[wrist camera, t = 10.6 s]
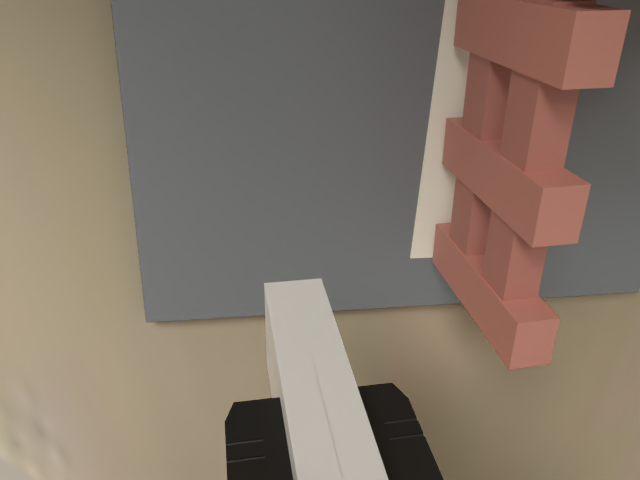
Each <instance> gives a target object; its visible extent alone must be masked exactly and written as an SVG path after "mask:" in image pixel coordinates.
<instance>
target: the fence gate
mask: <svg viewBox="0 0 640 480" xmlns="http://www.w3.org/2000/svg"><path fill="white" fill-rule="evenodd" d="M630 13H631V10H629V9H623V8H616V7H610V6H603V5H597V1H595V0H458V4H457V14H456V25H455V35H454V46H456V47H458V48H461V49H463V50H466V51H468V52H470V55H469V64H468V73H467V82H466V91H465V100H464V109H463V117H455V118H446V127H445V137H444V148H443V158H442V164H443V165H444V166H445V167H446V168H447V169H448V170H449V171H450V172H451V173H453V174H454V175H455V176H456V181H455V190H454V199H453V208H452V217H451V223H439V224H436V230H435V240H434V250H433V260H432V262H433V264H434V265H435V266H436V268H437V269H438V271H439V272H440V273H441V275H442V276H443V278H444V279H445V280H446V282H447V283H448V285H449V286H450V287H451V289H452V290H453V292H454V293H455V294H456V296H457V297H458V299H459V300H460V301H461V303H462V304H463V306H464V307H465V308H466V310H467V311H468V313H469V314H470V316H471V317H472V318H473V320H474V321H475V323H476V324H477V325H478V327H479V328H480V330H481V331H482V332H483V334H484V335H485V337H486V338H487V339H488V341H489V342H490V344H491V345H492V346H493V348H494V349H495V351H496V352H497V353H498V355H499V356H500V358H501V359H502V360H503V362H504V363H505V365H506V366H507V368H508V369H509V370H511V369H518V368H526V367H534V366H541V365H549V364H550V361H551V357H552V353H553V348H554V344H555V340H556V335H557V331H558V327H559V322H560V317H559V316H558V315H557V314H556V313H555V312H554V311H553V310H552V309H551V308H550V307H549V306H548V305H547V304H546V303H545V301H544V300H543V299H542V298H541V297H540V296H539V295H538V292H539V287H540V282H541V277H542V272H543V267H544V263H545V258H546V253H547V248H548V246H555V245H565V244H575V243H578V239H579V235H580V231H581V226H582V222H583V218H584V213H585V209H586V205H587V200H588V196H589V192H590V187H591V184H590V183H588V182H586V181H585V180H583V179H582V178H580V177H578V176H577V175H575V174H574V173H572V172H570V171H569V170H567V169H566V168H564V164H565V159H566V154H567V149H568V144H569V139H570V134H571V129H572V124H573V119H574V115H575V110H576V105H577V100H578V95H579V90H580V89H591V88H611V87H614V83H615V78H616V74H617V70H618V65H619V61H620V57H621V52H622V48H623V44H624V39H625V35H626V30H627V26H628V22H629V17H630Z"/></svg>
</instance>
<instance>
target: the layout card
mask: <svg viewBox="0 0 640 480" xmlns="http://www.w3.org/2000/svg"><path fill="white" fill-rule="evenodd" d="M595 1H597V5H603V6H610V7H616V8H623V9H629V10H631V13H630V17H629V22H628V26H627V30H626V35H625V39H624V44H623V48H622V52H621V57H620V61H619V65H618V70H617V74H616V78H615V83H614V87H611V88H591V89H580V90H579V95H578V100H577V105H576V110H575V115H574V119H573V124H572V129H571V134H570V139H569V144H568V149H567V154H566V159H565V164H564V168H566V169H567V170H569V171H570V172H572V173H574V174H575V175H577V176H578V177H580V178H582V179H583V180H585V181H586V182H588V183H590V184H591V187H590V192H589V196H588V200H587V205H586V209H585V213H584V218H583V222H582V226H581V231H580V235H579V239H578V243H575V244H565V245H555V246H548V248H547V253H546V258H545V263H544V267H543V272H542V277H541V282H540V287H539V292H538V295H539V296H540V297H541V298H553V297H569V296H586V295H602V294H618V293H635V292H638V291H639V289H640V0H595ZM457 4H458V0H111V9H112V18H113V27H114V36H115V45H116V54H117V63H118V72H119V81H120V90H121V99H122V108H123V117H124V126H125V135H126V144H127V153H128V163H129V172H130V181H131V190H132V199H133V208H134V217H135V226H136V235H137V244H138V253H139V262H140V271H141V280H142V289H143V298H144V307H145V316H146V322H162V321H178V320H194V319H211V318H227V317H243V316H260V315H265V294H264V283H271V282H283V281H295V280H307V279H319V278H321V279H322V282H323V285H324V288H325V291H326V294H327V297H328V300H329V303H330V306H331V309H332V311H341V310H357V309H374V308H390V307H406V306H423V305H439V304H455V303H461V301H460V300H459V299H458V297H457V296H456V294H455V293H454V292H453V290H452V289H451V287H450V286H449V285H448V283H447V282H446V280H445V279H444V278H443V276H442V275H441V273H440V272H439V271H438V269H437V268H436V266H435V265H434V264H433V262H432V260H433V250H434V240H435V230H436V224H439V223H451V217H452V208H453V199H454V190H455V181H456V176H455V175H454V174H453V173H451V172H450V171H449V170H448V169H447V168H446V167H445V166H444V165H443V164H442V158H443V148H444V137H445V127H446V118H455V117H463V109H464V100H465V91H466V82H467V73H468V64H469V55H470V52H468V51H466V50H463V49H461V48H458V47H456V46H454V35H455V25H456V14H457Z"/></svg>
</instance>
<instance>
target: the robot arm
mask: <svg viewBox="0 0 640 480" xmlns="http://www.w3.org/2000/svg"><path fill="white" fill-rule="evenodd" d="M264 294H265V322H266V351H267V368H268V375H269V382H270V389H271V396H272V398H268V399H260V400H251V401H242V402H234V403H233V405H232V408H231V410H230V412H229V414H228V416H227V418H226V420H225V436H226V459H227V480H443V478H442V475H441V473H440V471H439V468H438V466H437V464H436V461H435V459H434V457H433V455H432V452H431V450H430V448H429V445H428V443H427V441H426V438H425V437H424V436H423V431H422V429H421V427H420V424H419V422H418V421H417V419H416V415H415V413H414V411H413V408H412V406H411V404H410V401H409V399H408V398H407V397H406V396H405V395H404V394H403V393H402V392H401V391H400V390H399V389H398V388H397V387H396V386H395V385H394V384H393V383H386V384H377V385H369V386H360V387H357V384H356V381H355V378H354V375H353V372H352V369H351V366H350V363H349V360H348V357H347V354H346V351H345V348H344V345H343V342H342V339H341V336H340V333H339V330H338V327H337V324H336V321H335V318H334V315H333V312H332V309H331V306H330V303H329V300H328V297H327V294H326V291H325V288H324V285H323V282H322V279H321V278H319V279H307V280H295V281H283V282H271V283H264Z"/></svg>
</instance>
